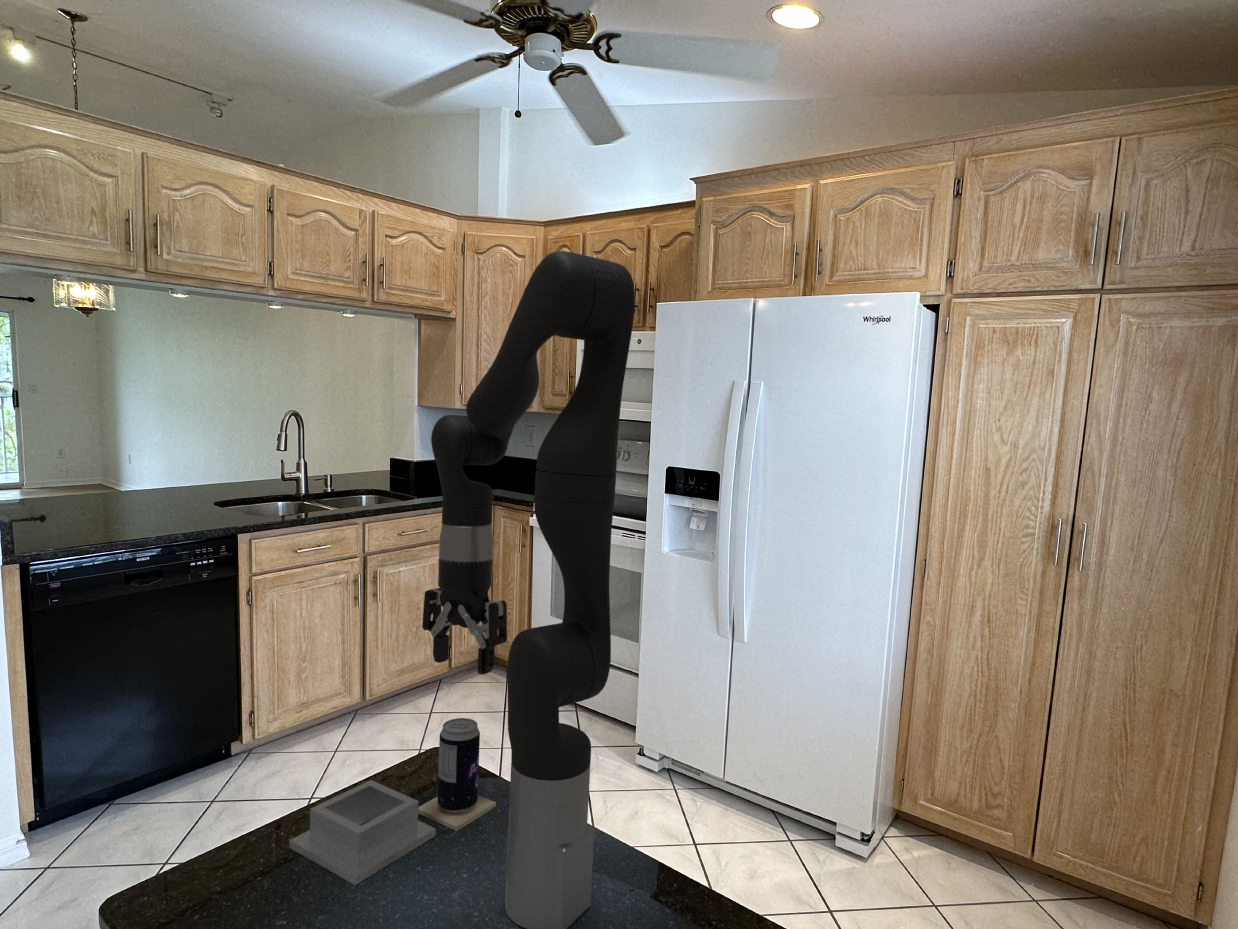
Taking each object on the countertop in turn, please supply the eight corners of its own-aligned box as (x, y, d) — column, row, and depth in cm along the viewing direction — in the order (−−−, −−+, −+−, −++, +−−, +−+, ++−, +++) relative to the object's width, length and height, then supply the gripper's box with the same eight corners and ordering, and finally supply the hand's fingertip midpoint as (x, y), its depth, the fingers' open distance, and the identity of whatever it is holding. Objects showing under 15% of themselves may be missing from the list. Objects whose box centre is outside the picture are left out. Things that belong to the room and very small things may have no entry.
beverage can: (472, 817, 100) (475, 734, 100) (432, 815, 100) (435, 732, 100) (480, 796, 106) (483, 717, 105) (442, 795, 106) (445, 716, 105)
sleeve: (435, 836, 96) (436, 800, 96) (355, 885, 85) (356, 845, 85) (371, 805, 103) (372, 771, 103) (289, 847, 92) (290, 810, 92)
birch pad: (495, 806, 104) (496, 802, 104) (456, 831, 98) (457, 827, 98) (456, 790, 109) (456, 786, 109) (416, 812, 102) (416, 808, 102)
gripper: (521, 557, 101) (517, 670, 102) (449, 546, 109) (445, 651, 109) (485, 564, 95) (481, 684, 95) (411, 552, 102) (407, 663, 103)
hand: (462, 667), depth 102 cm, fingers open, 8 cm apart
